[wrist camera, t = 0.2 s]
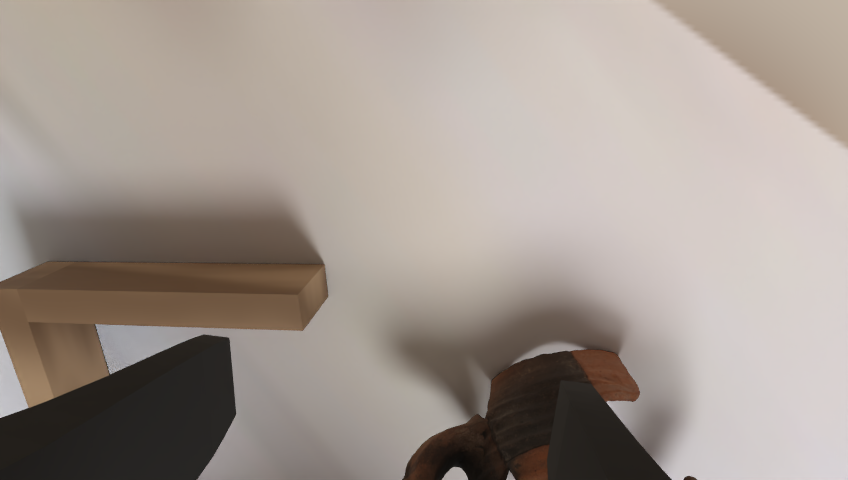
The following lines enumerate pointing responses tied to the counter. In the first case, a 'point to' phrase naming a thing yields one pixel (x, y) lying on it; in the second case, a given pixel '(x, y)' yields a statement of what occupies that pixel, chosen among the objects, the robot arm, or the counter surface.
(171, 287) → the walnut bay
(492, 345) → the counter surface
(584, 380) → the pottery mug
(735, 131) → the counter surface
